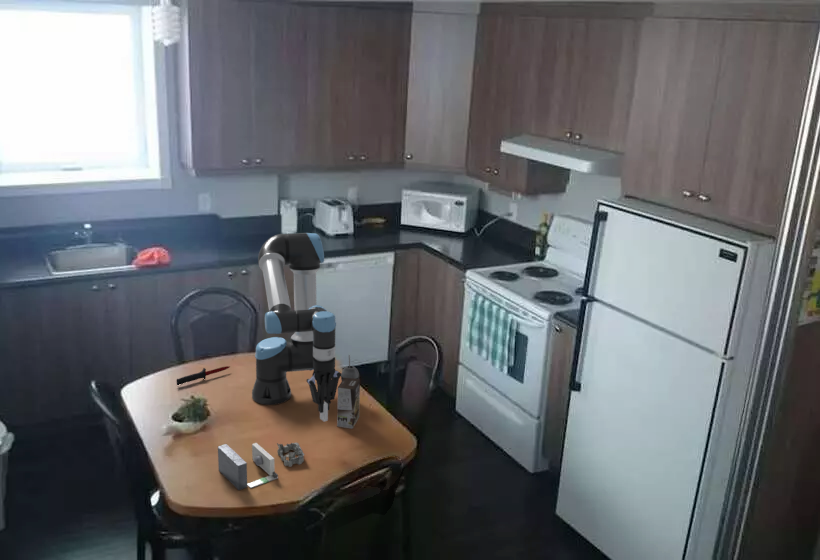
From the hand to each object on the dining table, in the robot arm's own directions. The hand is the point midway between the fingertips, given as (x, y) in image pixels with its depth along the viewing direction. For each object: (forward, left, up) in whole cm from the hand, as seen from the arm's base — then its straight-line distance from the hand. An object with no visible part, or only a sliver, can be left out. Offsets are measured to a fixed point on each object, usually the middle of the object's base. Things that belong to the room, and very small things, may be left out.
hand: (323, 419), depth 274 cm
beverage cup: (-21, +26, -11) cm, 35 cm away
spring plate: (+1, -24, -10) cm, 27 cm away
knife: (-71, -11, -11) cm, 73 cm away
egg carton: (0, -13, -11) cm, 17 cm away
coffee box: (-9, +17, -11) cm, 22 cm away
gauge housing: (0, -29, -11) cm, 31 cm away
